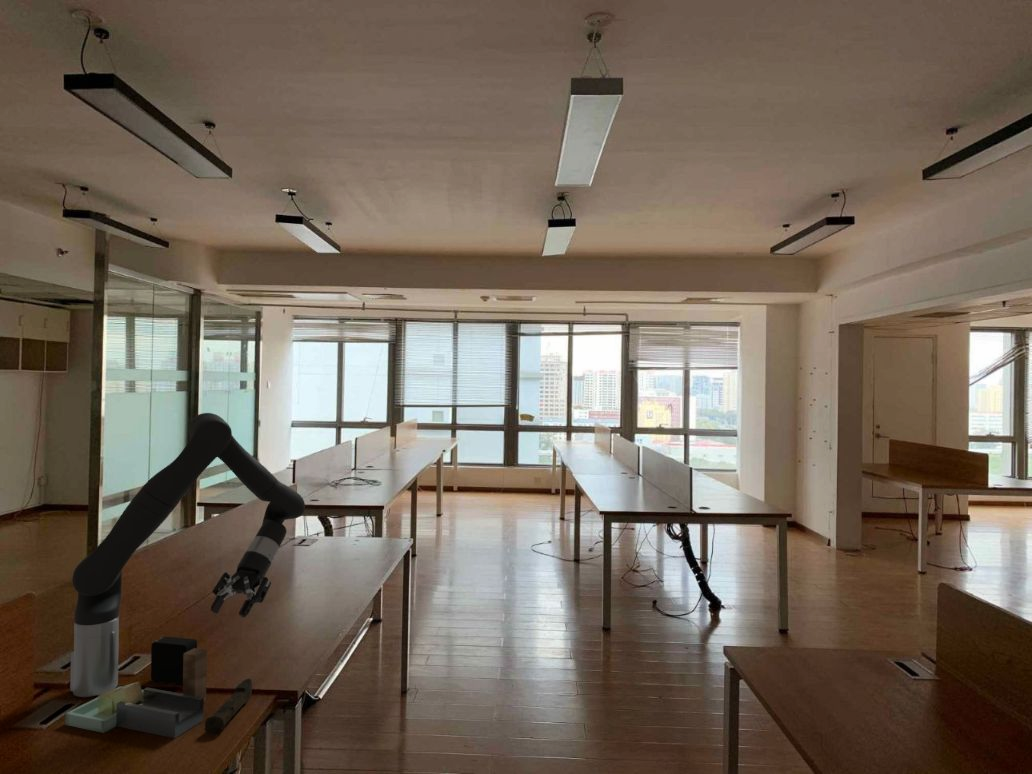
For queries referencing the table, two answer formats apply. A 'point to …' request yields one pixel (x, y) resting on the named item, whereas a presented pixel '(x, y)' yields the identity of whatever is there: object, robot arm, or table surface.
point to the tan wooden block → (195, 672)
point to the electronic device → (169, 658)
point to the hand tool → (229, 708)
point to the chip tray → (90, 717)
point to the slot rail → (161, 713)
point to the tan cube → (106, 703)
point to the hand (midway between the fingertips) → (227, 614)
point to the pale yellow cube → (128, 694)
